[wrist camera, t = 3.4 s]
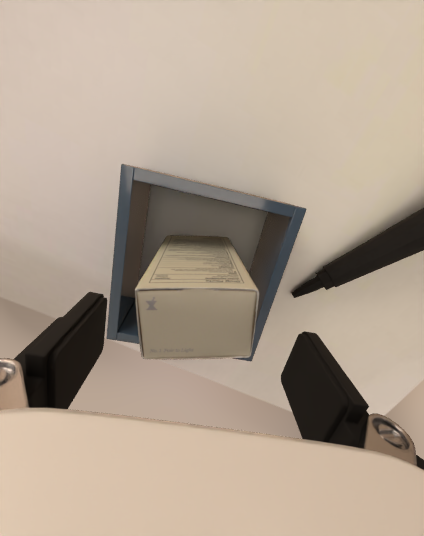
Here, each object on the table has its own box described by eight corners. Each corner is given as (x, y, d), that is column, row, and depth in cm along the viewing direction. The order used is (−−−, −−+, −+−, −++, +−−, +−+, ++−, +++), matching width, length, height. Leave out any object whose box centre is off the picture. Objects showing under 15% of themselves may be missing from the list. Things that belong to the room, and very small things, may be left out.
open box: (128, 302, 25) (106, 339, 19) (143, 168, 20) (121, 163, 15) (241, 322, 26) (251, 361, 21) (279, 201, 22) (307, 208, 16)
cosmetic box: (167, 275, 24) (136, 362, 12) (166, 232, 22) (128, 287, 11) (228, 276, 24) (252, 362, 13) (231, 234, 23) (261, 289, 11)
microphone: (292, 290, 28) (480, 193, 23) (313, 329, 24) (554, 222, 18) (273, 263, 25) (487, 142, 19) (294, 302, 21) (578, 162, 15)
